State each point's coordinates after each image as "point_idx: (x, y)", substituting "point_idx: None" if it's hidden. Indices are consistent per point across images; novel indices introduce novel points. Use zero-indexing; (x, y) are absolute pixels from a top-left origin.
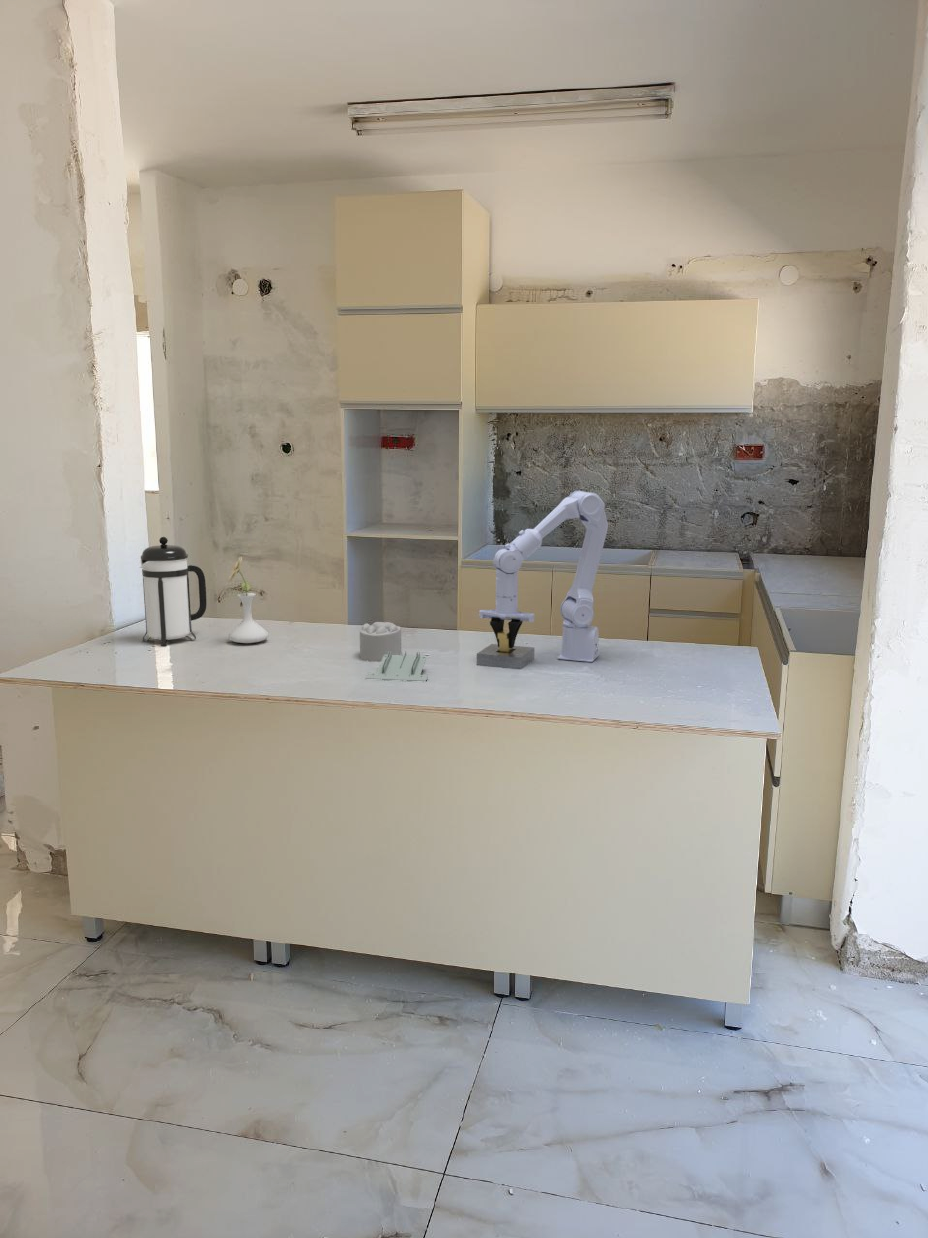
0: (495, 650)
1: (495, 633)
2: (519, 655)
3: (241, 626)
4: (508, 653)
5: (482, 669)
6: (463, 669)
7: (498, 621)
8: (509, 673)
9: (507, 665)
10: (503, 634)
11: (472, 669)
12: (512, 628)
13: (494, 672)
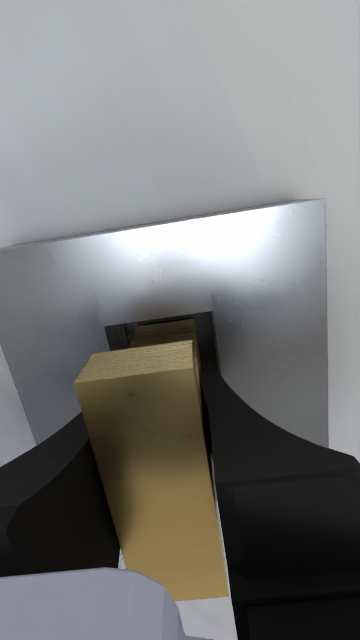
0: (234, 355)
1: (250, 414)
2: (16, 306)
3: None
4: (112, 321)
5: (212, 106)
6: (334, 26)
7: (252, 574)
8: (6, 103)
9: (90, 233)
10: (119, 372)
11: (274, 65)
12: (7, 478)
13: (102, 71)
